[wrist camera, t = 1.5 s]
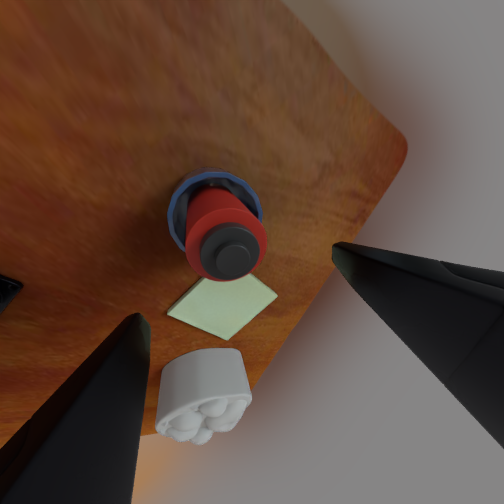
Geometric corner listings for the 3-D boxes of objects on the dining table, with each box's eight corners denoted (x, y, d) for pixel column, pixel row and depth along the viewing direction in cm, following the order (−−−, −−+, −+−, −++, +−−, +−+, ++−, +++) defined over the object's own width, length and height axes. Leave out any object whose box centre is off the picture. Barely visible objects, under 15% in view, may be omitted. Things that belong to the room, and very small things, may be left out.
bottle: (214, 241, 21) (232, 308, 12) (175, 210, 18) (162, 267, 9) (247, 209, 20) (291, 255, 11) (212, 171, 17) (234, 194, 9)
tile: (226, 336, 30) (227, 340, 29) (167, 309, 24) (167, 314, 23) (275, 293, 28) (278, 296, 28) (226, 253, 23) (227, 256, 22)
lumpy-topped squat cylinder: (229, 381, 37) (238, 438, 29) (157, 390, 31) (147, 462, 24) (245, 346, 33) (261, 402, 26) (167, 350, 27) (158, 421, 20)
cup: (214, 254, 22) (219, 275, 18) (154, 209, 18) (145, 224, 14) (262, 207, 21) (278, 220, 17) (210, 147, 17) (216, 146, 13)
